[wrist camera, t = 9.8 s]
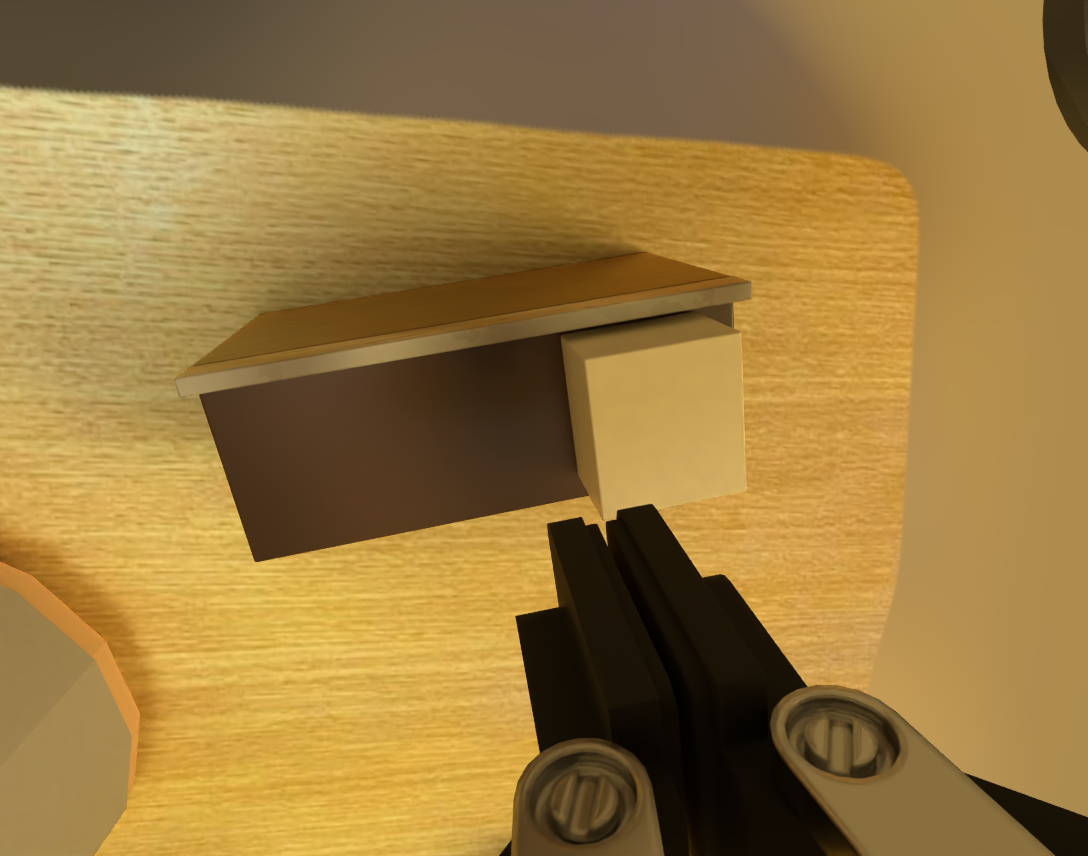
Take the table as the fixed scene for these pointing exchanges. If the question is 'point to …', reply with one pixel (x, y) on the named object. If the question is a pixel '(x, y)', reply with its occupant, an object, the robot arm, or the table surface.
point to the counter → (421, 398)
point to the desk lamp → (59, 726)
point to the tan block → (657, 411)
